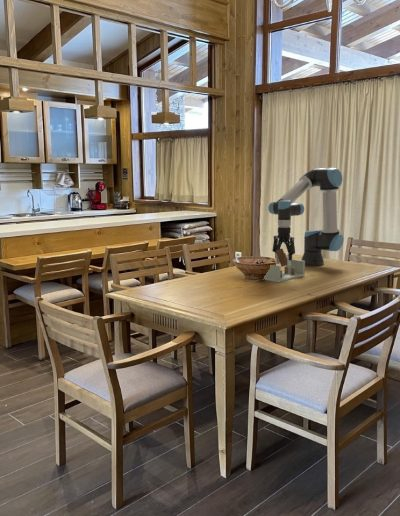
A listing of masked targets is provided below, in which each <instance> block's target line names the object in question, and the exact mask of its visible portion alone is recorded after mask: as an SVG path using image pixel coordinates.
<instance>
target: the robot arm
mask: <svg viewBox="0 0 400 516" xmlns="http://www.w3.org/2000/svg"><path fill="white" fill-rule="evenodd" d="M342 182H343V174H342V172H341V171H340V169H339V168H335V167H325V168H324V167H322V168H321V167H318V168H317V167H316V168H314V169H311V170H309V171H307V172H305V173H304V174H303V175H302V176H301V177H300V178H299V179H298V182H296V183H295V184H294V185H293V186H291V188H290V189H289V190H287V192H286V193H285V194H284V195H282V196H281V197H280V198H279V199H278V200H277V201H272V202H270V203H269V204H268V209H267V210H268V212H269V213H270V214H271V215H276V216H277V235H273V243H272V250H271V251H272V252H274V259H275V263H276V265H281V264H280V261H279V259H278V256H277V253H276V250H279V249H281V248H282V244H283V243H284V244H285V247H286V248H285V249H286V250H287V254H286V256H287V266H291V260H292V259H293V255H295V254H296V247H295V237H294V236H293V237H292V236H291V235H290V234H291V229H292V227H291V224H292V223H291V222H292V219H291V217H295V216H296V217H297V216H301V215H303V214H304V211H305V206H304V204H303V203H301V202H295V201H297V200H298V199H299V198H300V197H301V196H302V195H303V194H304V193H305V192H306V191H307V190H311V189H312V188H313V187H319V191H321V192H322V213H323V215H322V216H323V218H322V219H323V221H322V223H323V228H322V229H313V230H306V231H305V232H304V237H303V238H304V239H303V241H304V245H303V246H304V247H303V254H302V257H301V260H302V261H305V266H323V265H324V264H325V260H324V256H323V254H322V251H329V252H338V251H340V250H341V248H342V246H343V244H344V239H345V238H344V236H343V234H342V233H340V229H339V228H338V215H337V213H338V211H337V208H338V207H337V206H338V205H337V191H338V190H339V187H341V186H342V184H343V183H342Z"/></svg>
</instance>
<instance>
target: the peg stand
mask: <svg viewBox="0 0 400 516" xmlns="http://www.w3.org/2000/svg"><path fill="white" fill-rule="evenodd" d="M305 266H306V265H305V261H302V259H293V258H292V260H291V266H287V265H286V266H284V269H283V270H284V271H283V270H281V265H277V264H276V265H270V269H269V270H268V272H267V273H266V275H265V276H264V279H265V281H270V282H274V283H275V282H276V283H281V282H285V281H290V280H293V279H297V278H301V276H302V277H304V276H306V275H305V274H306V273H305V270H306V267H305ZM264 279H263V280H264Z"/></svg>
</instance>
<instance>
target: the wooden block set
mask: <svg viewBox="0 0 400 516" xmlns="http://www.w3.org/2000/svg"><path fill="white" fill-rule="evenodd" d="M276 253H277V256H278V259H279V261H280V264H279V265H280V266H281V267H286V265H287V254H286V252H285V251H284V249H283V248H280V249H279V250H276ZM270 262H275V265H276V266H277V264H276V260H271V261H270Z"/></svg>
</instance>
